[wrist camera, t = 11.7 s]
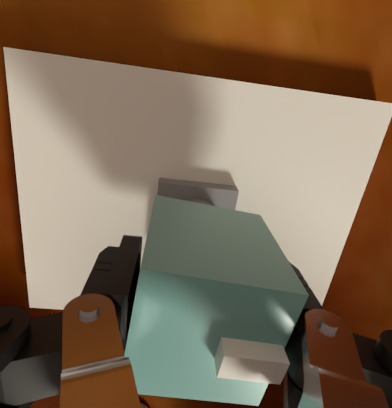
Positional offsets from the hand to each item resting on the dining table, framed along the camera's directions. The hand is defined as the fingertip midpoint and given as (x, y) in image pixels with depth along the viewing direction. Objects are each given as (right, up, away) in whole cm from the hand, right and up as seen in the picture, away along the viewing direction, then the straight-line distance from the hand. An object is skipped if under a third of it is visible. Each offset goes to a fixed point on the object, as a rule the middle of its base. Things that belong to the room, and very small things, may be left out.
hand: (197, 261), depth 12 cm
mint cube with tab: (0, 0, +1) cm, 1 cm away
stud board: (0, +2, +5) cm, 6 cm away
